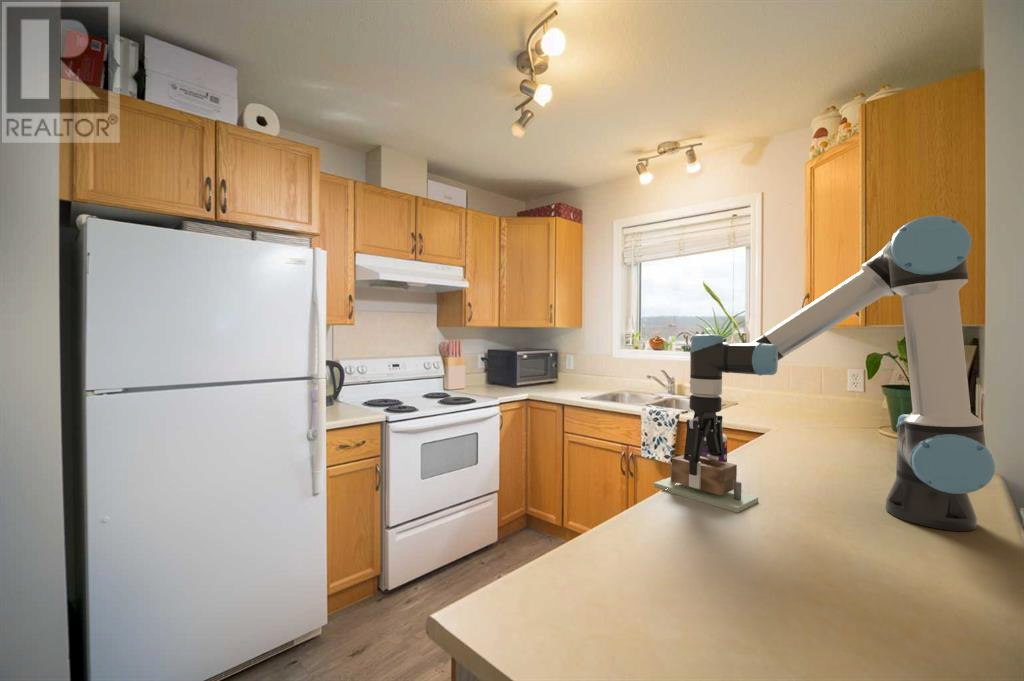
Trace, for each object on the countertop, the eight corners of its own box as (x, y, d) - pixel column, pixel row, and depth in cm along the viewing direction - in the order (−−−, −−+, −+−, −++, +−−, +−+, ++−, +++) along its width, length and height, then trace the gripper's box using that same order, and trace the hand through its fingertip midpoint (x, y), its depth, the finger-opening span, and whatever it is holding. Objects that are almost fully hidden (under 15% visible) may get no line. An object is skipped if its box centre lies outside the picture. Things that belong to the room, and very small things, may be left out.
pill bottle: (730, 480, 129) (731, 429, 128) (699, 478, 130) (700, 427, 130) (722, 471, 137) (723, 423, 136) (694, 469, 138) (695, 422, 138)
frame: (736, 488, 115) (736, 464, 114) (720, 495, 110) (721, 470, 109) (687, 475, 125) (688, 453, 125) (671, 480, 120) (672, 458, 120)
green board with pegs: (758, 502, 112) (758, 480, 112) (737, 512, 105) (737, 490, 105) (676, 479, 129) (676, 460, 129) (653, 487, 122) (654, 467, 122)
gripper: (711, 390, 126) (710, 472, 126) (669, 396, 113) (667, 488, 113) (739, 393, 120) (737, 479, 121) (698, 400, 107) (696, 496, 108)
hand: (703, 483), depth 117 cm, fingers closed on frame, 8 cm apart
